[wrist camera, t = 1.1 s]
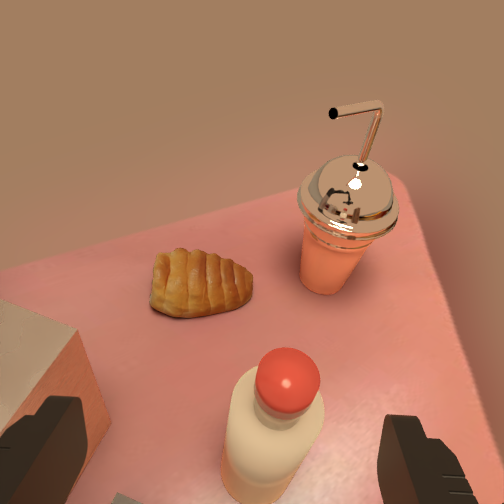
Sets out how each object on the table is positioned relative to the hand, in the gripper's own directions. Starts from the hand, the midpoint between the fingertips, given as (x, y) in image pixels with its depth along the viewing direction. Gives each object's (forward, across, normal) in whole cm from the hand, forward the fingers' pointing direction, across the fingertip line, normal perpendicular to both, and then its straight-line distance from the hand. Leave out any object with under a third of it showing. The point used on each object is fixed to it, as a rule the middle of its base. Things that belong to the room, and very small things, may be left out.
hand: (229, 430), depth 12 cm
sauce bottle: (+14, 0, +17) cm, 23 cm away
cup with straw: (+31, -6, +10) cm, 33 cm away
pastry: (+28, +6, +10) cm, 30 cm away
